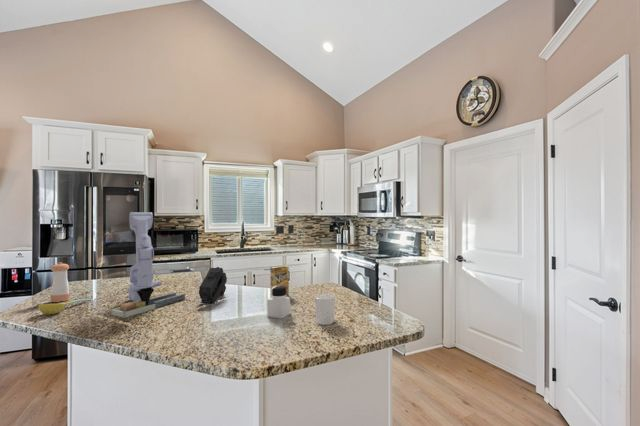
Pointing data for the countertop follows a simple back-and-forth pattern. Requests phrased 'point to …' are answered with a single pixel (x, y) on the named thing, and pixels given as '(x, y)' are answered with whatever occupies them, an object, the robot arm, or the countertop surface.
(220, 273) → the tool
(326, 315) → the white cup
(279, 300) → the medicine bottle
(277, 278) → the candy box
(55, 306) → the ladle
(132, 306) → the copper block
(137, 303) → the brass block
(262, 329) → the countertop surface
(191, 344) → the countertop surface
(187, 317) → the countertop surface
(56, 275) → the pepper shaker
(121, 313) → the tray
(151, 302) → the rail
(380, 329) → the countertop surface
